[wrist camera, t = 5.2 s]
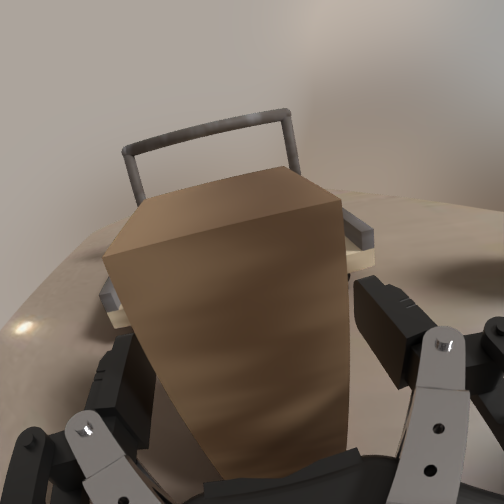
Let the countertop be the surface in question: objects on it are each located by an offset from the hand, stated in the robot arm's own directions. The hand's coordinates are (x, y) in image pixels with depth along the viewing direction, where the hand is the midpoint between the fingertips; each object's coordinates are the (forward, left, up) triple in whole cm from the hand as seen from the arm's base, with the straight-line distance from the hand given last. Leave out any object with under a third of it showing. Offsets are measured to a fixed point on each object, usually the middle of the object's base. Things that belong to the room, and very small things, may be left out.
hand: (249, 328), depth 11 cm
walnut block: (0, -1, -7) cm, 7 cm away
